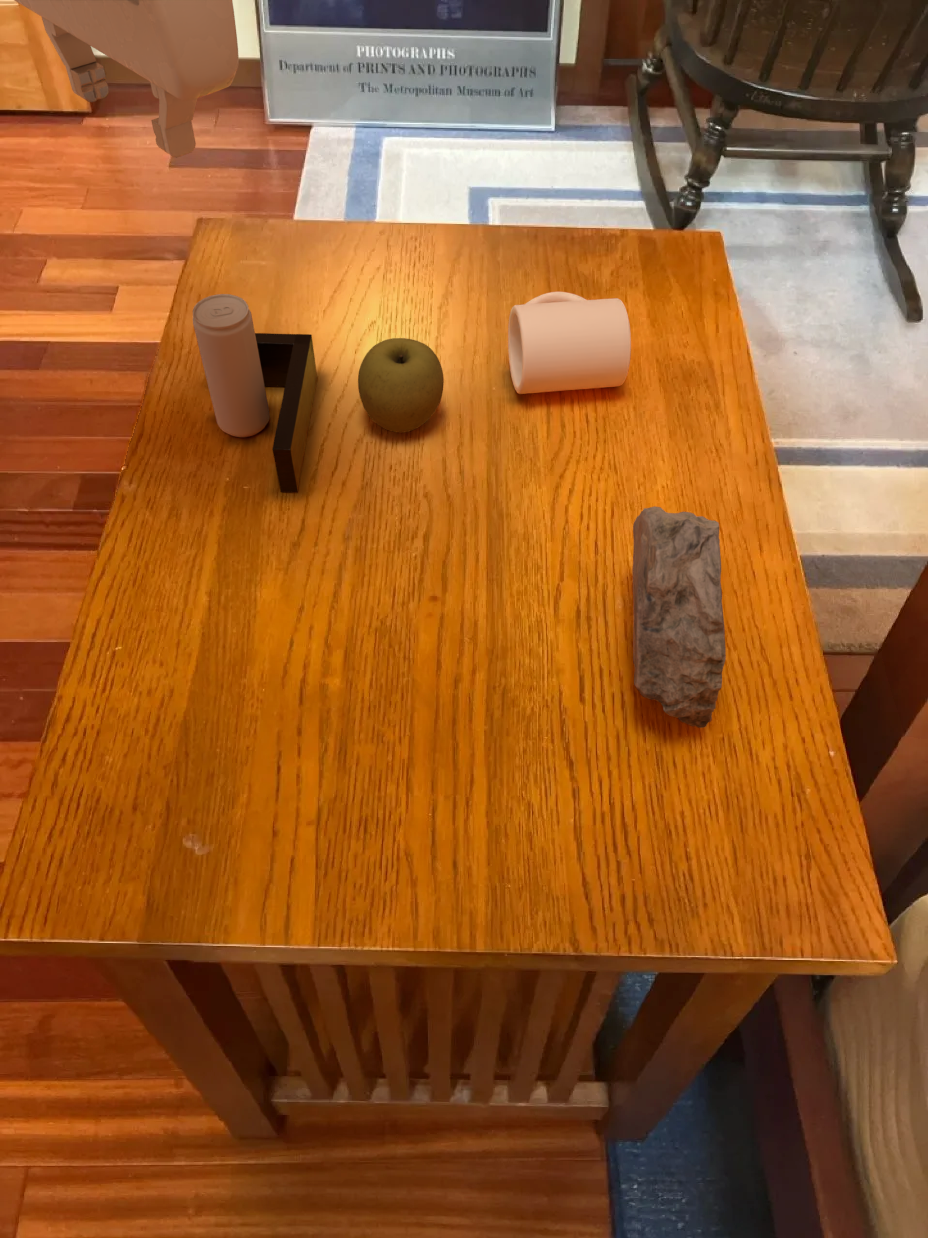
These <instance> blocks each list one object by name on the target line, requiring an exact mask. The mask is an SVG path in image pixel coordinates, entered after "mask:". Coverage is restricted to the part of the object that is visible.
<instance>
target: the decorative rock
mask: <svg viewBox="0 0 928 1238" xmlns="http://www.w3.org/2000/svg"><path fill="white" fill-rule="evenodd" d="M632 538H633V545H632V548H633V552H632V596H633V597H632V599H633V602H632V603H633V626H632V627H633V629H632V631H633V632H632V639H633V640H632V645H633V646H632V651H633V653H632V657H633V658H632V660H633V661H632V662H633V665H634V675H633V685H634V687H635V688H636V689H637V691H638V692H639V693H640V695H641V696H642V697H643V698H645V699H647V700H652V701H656V702H658V703H659V704H660V705H661V707H662V710H663V712H664V713H665V714H667V715H668V716H669V717H673V718H676V719H678V721H679V722H681V723H683V724H686V725H688V726H690V727H696V728H699V729H704V728H707V726H708V724H709V723H710V722H712V720H713V716H712V715H713V712H714V711H715V710H716V708H717V707H716V706H717V700H718V696H719V692H720V690H721V689H722V688H723V687H722V685H723V671H724V666H725V664H726V657H727V653H726V652H727V650H726V635H725V634H726V633H725V631H726V630H725V619H724V610H723V592H722V591H723V589H722V581H721V580H722V579H721V575H722V556H721V545H720V522H718V521H716V520H714V519H713V520H712V519H708V518H706V517H705V516H702V515H700V516H699V515H696V514H695V513H694V512H690V511H681V512H667V511H665V510H664V509H663V508H662V507H661V506H656V505H655V506H651V507H646V508H645V507H644V508H643V509H642V510H641V511H640V513H639V515H637V517H636V518H635V520H634V521H633V526H632Z"/></svg>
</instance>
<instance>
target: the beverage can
mask: <svg viewBox="0 0 928 1238" xmlns="http://www.w3.org/2000/svg"><path fill="white" fill-rule="evenodd" d="M249 307H250V306H249V304H248V303H247V301H246V300H245V299H244V298H243V297H240V296H238V295H234V294H230V293H229V294H228V293H217V294H213V295H209V296H206V297H204V298H202V299H201V300H199V301H198V302H196V304H195V305H194V306H193V308H192V325H193V329H194V334H195V337H196V341H197V347H198V350H199V353H200V358H201V362H202V366H203V371H204V375H205V379H206V384H207V388H208V392H209V395H210V400H211V404H212V408H213V411H214V416H215V421H216V424H217V426H218V427H219V429H220V430H221V431H223V432H224V433H226V434H227V435H229V436H232V437H236V438H249V437H253V436H255V435H257V434H259V433H260V432H262V431H263V430H264V429H265V428H266V426H267V425H268V423H269V422H270V419H271V418H270V417H271V414H270V408H269V404H268V396H267V391H266V386H264V380H263V375H262V369H261V364H260V358H259V353H258V347H257V342H256V336H255V333H256V332H255V326H254V320H253V314H252V312H251V310H250V308H249Z"/></svg>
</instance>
